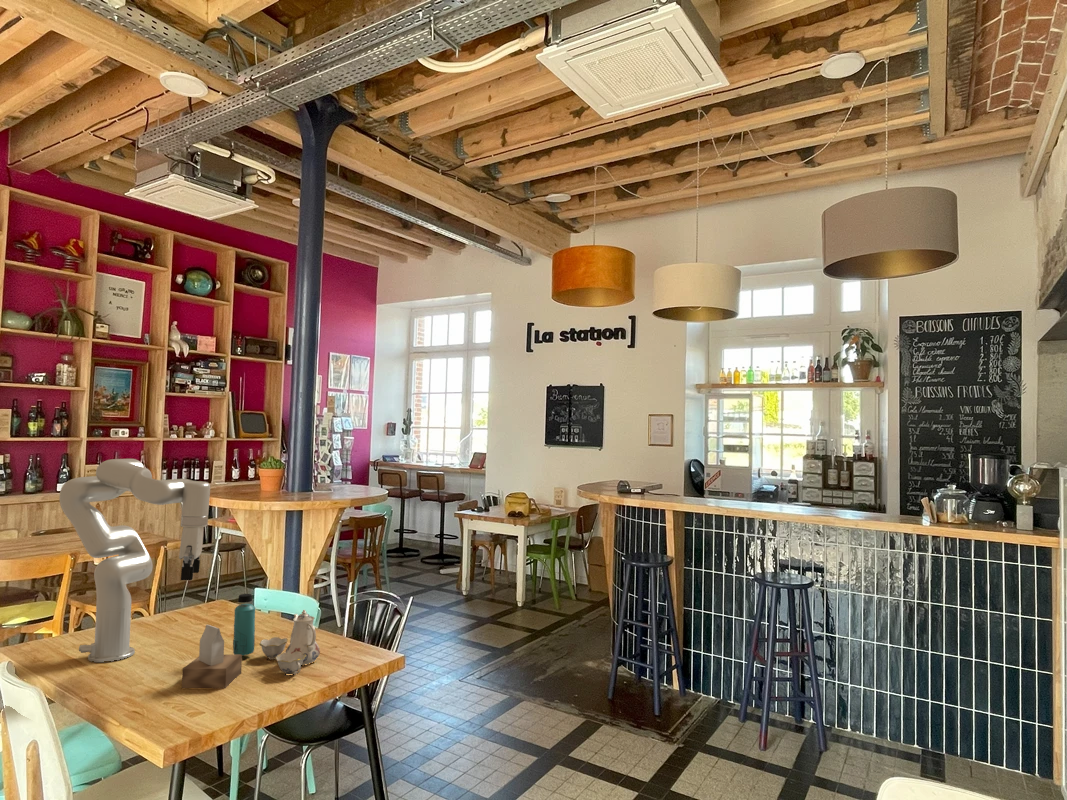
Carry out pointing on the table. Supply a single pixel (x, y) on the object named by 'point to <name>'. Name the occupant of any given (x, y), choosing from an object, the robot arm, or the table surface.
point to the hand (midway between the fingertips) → (190, 576)
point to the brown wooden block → (212, 673)
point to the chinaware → (294, 645)
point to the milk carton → (211, 646)
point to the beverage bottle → (244, 626)
